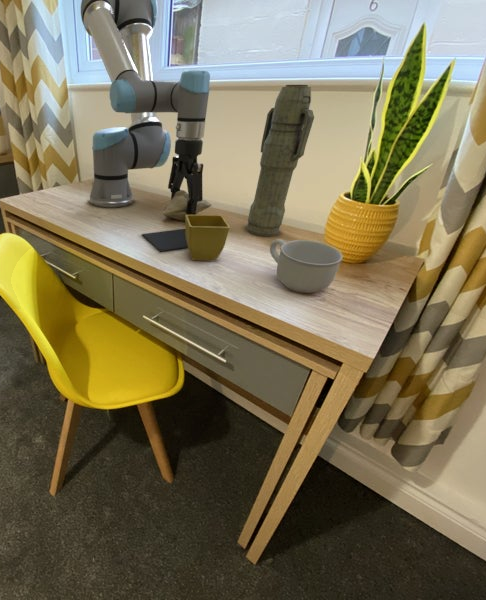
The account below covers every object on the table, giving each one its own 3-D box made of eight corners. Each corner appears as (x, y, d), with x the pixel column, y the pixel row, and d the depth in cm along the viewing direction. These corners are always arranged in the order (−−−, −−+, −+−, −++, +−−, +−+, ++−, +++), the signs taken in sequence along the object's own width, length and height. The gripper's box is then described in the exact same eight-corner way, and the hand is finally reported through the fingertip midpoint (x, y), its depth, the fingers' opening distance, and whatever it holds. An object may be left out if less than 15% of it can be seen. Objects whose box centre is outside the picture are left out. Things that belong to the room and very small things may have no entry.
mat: (141, 235, 90) (141, 234, 90) (193, 228, 95) (193, 227, 95) (160, 252, 81) (160, 250, 81) (216, 244, 86) (216, 242, 85)
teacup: (341, 294, 65) (357, 257, 60) (298, 304, 61) (311, 265, 57) (290, 264, 76) (300, 231, 71) (250, 271, 73) (258, 237, 68)
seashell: (170, 209, 93) (176, 178, 95) (153, 219, 101) (160, 191, 103) (209, 227, 99) (214, 197, 101) (191, 236, 107) (196, 208, 109)
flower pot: (181, 249, 83) (185, 213, 78) (216, 249, 83) (222, 214, 78) (185, 264, 75) (189, 226, 71) (223, 265, 75) (230, 227, 70)
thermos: (272, 240, 88) (312, 84, 69) (235, 228, 96) (263, 84, 77) (290, 233, 92) (332, 85, 74) (254, 222, 100) (284, 85, 82)
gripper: (160, 134, 98) (156, 209, 110) (198, 144, 81) (188, 231, 93) (182, 134, 100) (176, 207, 112) (224, 143, 83) (211, 228, 95)
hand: (181, 218), depth 102 cm, fingers open, 9 cm apart
